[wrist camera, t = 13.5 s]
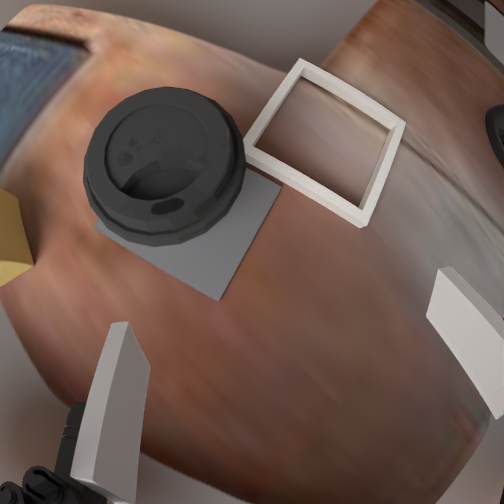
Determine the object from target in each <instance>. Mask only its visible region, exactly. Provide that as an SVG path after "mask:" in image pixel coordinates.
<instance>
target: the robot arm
mask: <svg viewBox="0 0 504 504" xmlns="http://www.w3.org/2000/svg"><path fill="white" fill-rule="evenodd" d="M486 128H487V133H488V136H489V139H490V142H491V145H492V147H493V150H494V152H495V154H496V156H497V158H498V159H499V161H500V163H501V164H502V166H503V167H504V104H503V105H496V106H494V107H493V108H491V109H490V110H489V111H488V112H487V114H486ZM426 317H427V318H428V320H429V321H430V322H431V324H432V325H433V326H434V328H435V329H436V330H437V332H438V333H439V334H440V336H441V337H442V339H443V340H444V341H445V343H446V344H447V345H448V347H449V348H450V350H451V351H452V352H453V354H454V355H455V357H456V358H457V360H458V361H459V362H460V364H461V365H462V367H463V368H464V370H465V371H466V373H467V374H468V376H469V377H470V379H471V380H472V382H473V383H474V385H475V386H476V388H477V390H478V391H479V393H480V394H481V396H482V397H483V399H484V401H485V402H486V404H487V405H488V407H489V409H490V410H491V412H492V413H493V415H494V417H495V418H496V419H498V418H499V417H501V416H502V415H504V318H503V319H502V318H501V317H500V316H499V315H498V313H497V312H496V311H495V310H494V309H493V308H492V307H491V306H490V305H489V304H488V303H487V302H486V301H485V300H484V299H483V298H482V297H481V295H480V294H479V293H478V292H477V291H476V290H475V289H474V288H473V287H472V286H471V285H470V284H469V283H468V282H467V281H466V280H465V279H464V278H463V277H461V276H460V275H459V274H458V273H457V272H456V271H455V270H454V269H453V268H452V267H451V266H448V267H444V268H440V269H438V272H437V277H436V281H435V285H434V289H433V292H432V296H431V300H430V303H429V307H428V310H427V314H426ZM150 368H151V366H150V364H149V362H148V360H147V359H146V357H145V355H144V353H143V351H142V349H141V347H140V344H139V342H138V340H137V338H136V336H135V334H134V332H133V330H132V328H131V325H130V323H129V321H128V322H117V323H112V324H111V327H110V330H109V333H108V335H107V338H106V341H105V344H104V347H103V350H102V353H101V356H100V360H99V363H98V366H97V369H96V372H95V376H94V379H93V382H92V386H91V389H90V393H89V396H88V400H87V402H76V403H75V405H74V406H73V408H72V409H71V411H70V412H69V414H68V418H67V422H66V428H65V429H64V432H63V438H62V440H61V444H60V448H59V452H58V457H57V461H56V466H55V471H54V473H52V472H51V471H50V470H48V469H47V468H45V467H43V466H34V467H31V468H30V469H29V470H28V471H27V472H26V473H25V475H24V477H23V482H22V486H23V487H20V486H18V485H17V484H15V483H13V482H8V481H7V482H5V483H3V484H2V485H1V486H0V504H107V500H109V501H111V502H113V503H115V504H135V499H136V484H137V471H138V460H139V450H140V440H141V432H142V423H143V415H144V408H145V401H146V394H147V387H148V380H149V374H150ZM500 504H504V488H503V493H502V496H501V500H500Z"/></svg>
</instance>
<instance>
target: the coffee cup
mask: <svg viewBox="0 0 504 504" xmlns="http://www.w3.org/2000/svg"><path fill="white" fill-rule="evenodd" d="M246 167H247V165H246V157H245V149H244V142H243V137H242V135H241V133H240V131H239V130H238V128H237V126H236V124H235V122H234V120H233V118H232V116H231V115H230V114H229V113H227V112H226V111H225V110H224V109H223V108H222V107H221V106H220V105H219V104H218V103H217V102H216V101H214V100H212V99H210V98H207V97H205V96H203V95H201V94H199V93H196V92H194V91H191V90H188V89H182V88H174V87H161V88H154V89H148V90H144V91H142V92H139V93H137V94H135V95H132V96H130V97H128V98H126V99H124V100H123V101H122V102H120V103H119V104H118V105H116V106H115V107H114V108H113V109H111V110H110V111H109V112H108V113H107V114H106V115H105V117H104V118H103V119H102V121H101V122H100V123H99V125H98V126H97V128H96V129H95V131H94V133H93V136H92V138H91V141H90V144H89V146H88V149H87V152H86V155H85V158H84V173H83V183H84V187H85V190H86V194H87V197H88V201H89V204H90V206H91V208H92V209H93V210H94V212H95V213H96V214H97V216H98V217H99V218H100V220H101V221H102V222H103V224H104V225H105V226H106V227H107V229H109V230H110V231H112V232H114V233H115V234H117V235H118V236H120V237H121V238H123V239H125V240H126V241H128V242H132V243H137V244H141V245H146V246H150V247H160V246H168V245H177V244H182V243H184V242H186V241H189V240H191V239H193V238H195V237H198V236H200V235H202V234H204V233H206V232H208V231H209V230H210V229H211V228H212V227H213V226H214V225H215V224H217V223H218V222H219V221H220V220H221V219H222V218H223V217H225V216H226V215H227V214H228V212H229V210H230V209H231V207H232V205H233V204H234V202H235V200H236V199H237V197H238V195H239V194H240V192H241V189H242V185H243V180H244V176H245V171H246Z"/></svg>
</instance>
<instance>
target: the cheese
mask: <svg viewBox="0 0 504 504" xmlns="http://www.w3.org/2000/svg"><path fill="white" fill-rule="evenodd" d="M32 267H34V263H33V259H32V255H31V251H30V248H29V244H28V241H27V237H26V234H25V230H24V226H23V222H22V217H21V212H20V207H19V201H18V198H17V197H16V196H14V195H12V194H11V193H9V192H7V191H5V190H3V189H1V188H0V287H1V286H3V285H4V284H6V283H8V282H9V281H11V280H12V279H14V278H15V277H17V276H18V275H20V274H22V273H23V272H25V271H27V270H28V269H30V268H32Z"/></svg>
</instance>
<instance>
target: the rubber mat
mask: <svg viewBox="0 0 504 504" xmlns="http://www.w3.org/2000/svg"><path fill="white" fill-rule="evenodd" d="M281 188H282V187H281V186H279V185H278V184H276V183H274V182H272V181H270V180H269V179H267V178H265V177H263V176H261V175H260V174H258V173H256V172H254V171H252V170H250V169H249V168H247V167H246V171H245V176H244V180H243V185H242V189H241V192H240V194H239V195H238V197H237V199H236V200H235V202H234V204H233V205H232V207H231V209H230V210H229V212H228V214H227V215H226V216H225V217H223V218H222V219H221V220H220V221H219V222H218V223H217V224H215V225H214V226H213V227H212V228H211V229H210V230H209V231H208V232H206V233H204V234H202V235H200V236H198V237H195V238H193V239H191V240H189V241H186V242H184V243H182V244H177V245H168V246H160V247H150V246H146V245H141V244H137V243H132V242H128V241H126V240H125V239H123V238H121V237H120V236H118V235H117V234H115V233H114V232H112V231H110V230H109V229H107V227H106V226H105V225H104V224H103V222H102V221H101V220H100V218H99V219H98V220H97V222H96V224H95V226H94V228H95V229H97V230H98V231H100V232H101V233H103V234H104V235H106V236H108V237H109V238H111V239H112V240H114V241H116V242H117V243H119V244H120V245H122V246H124V247H125V248H127V249H128V250H130V251H132V252H133V253H135V254H137V255H138V256H140V257H142V258H143V259H145V260H147V261H148V262H150V263H152V264H153V265H155V266H157V267H158V268H160V269H162V270H163V271H165V272H167V273H168V274H170V275H172V276H174V277H175V278H177V279H179V280H181V281H182V282H184V283H186V284H187V285H189V286H191V287H193V288H195V289H196V290H198V291H200V292H202V293H203V294H205V295H207V296H209V297H211V298H212V299H214V300H216V301H218V302H219V300H220V298H221V296H222V294H223V293H224V291H225V289H226V287H227V285H228V284H229V282H230V280H231V278H232V276H233V275H234V273H235V271H236V269H237V267H238V265H239V264H240V262H241V260H242V258H243V256H244V255H245V253H246V251H247V249H248V247H249V246H250V244H251V242H252V240H253V238H254V236H255V235H256V233H257V231H258V229H259V227H260V226H261V224H262V222H263V220H264V218H265V217H266V215H267V213H268V211H269V209H270V208H271V206H272V204H273V202H274V200H275V199H276V197H277V195H278V193H279V191H280V190H281Z"/></svg>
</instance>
